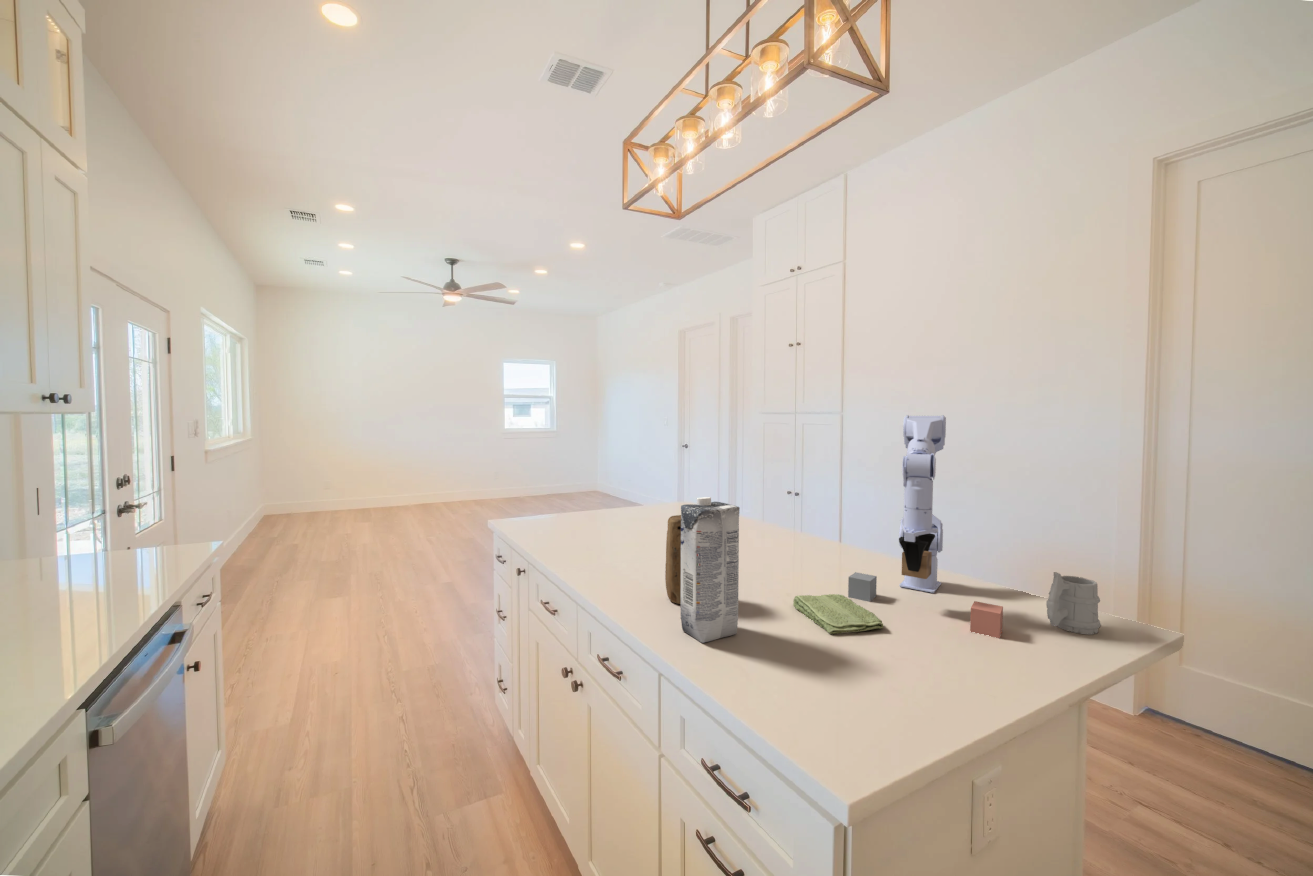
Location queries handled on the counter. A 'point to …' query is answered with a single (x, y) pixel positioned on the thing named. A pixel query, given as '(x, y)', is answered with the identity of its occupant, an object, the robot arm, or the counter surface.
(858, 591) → the slate grey block
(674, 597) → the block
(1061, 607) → the mug
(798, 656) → the counter surface
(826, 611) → the washcloth
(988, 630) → the brick red block
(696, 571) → the juice carton
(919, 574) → the walnut block
